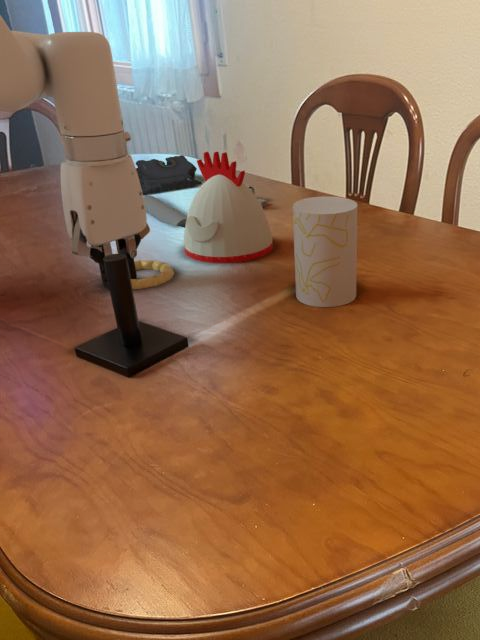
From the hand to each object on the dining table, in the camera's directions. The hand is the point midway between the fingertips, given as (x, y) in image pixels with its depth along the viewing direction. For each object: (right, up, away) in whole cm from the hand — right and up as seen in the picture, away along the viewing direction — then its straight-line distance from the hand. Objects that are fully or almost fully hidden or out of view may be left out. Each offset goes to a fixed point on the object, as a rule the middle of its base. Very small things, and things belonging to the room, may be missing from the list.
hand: (121, 287), depth 92 cm
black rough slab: (-10, +32, +50) cm, 61 cm away
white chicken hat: (+13, +8, +13) cm, 20 cm away
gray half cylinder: (-1, +20, +31) cm, 36 cm away
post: (+6, -11, -16) cm, 20 cm away
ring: (+2, +2, +2) cm, 4 cm away
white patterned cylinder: (+29, -2, -3) cm, 29 cm away
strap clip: (+14, +22, +34) cm, 43 cm away
